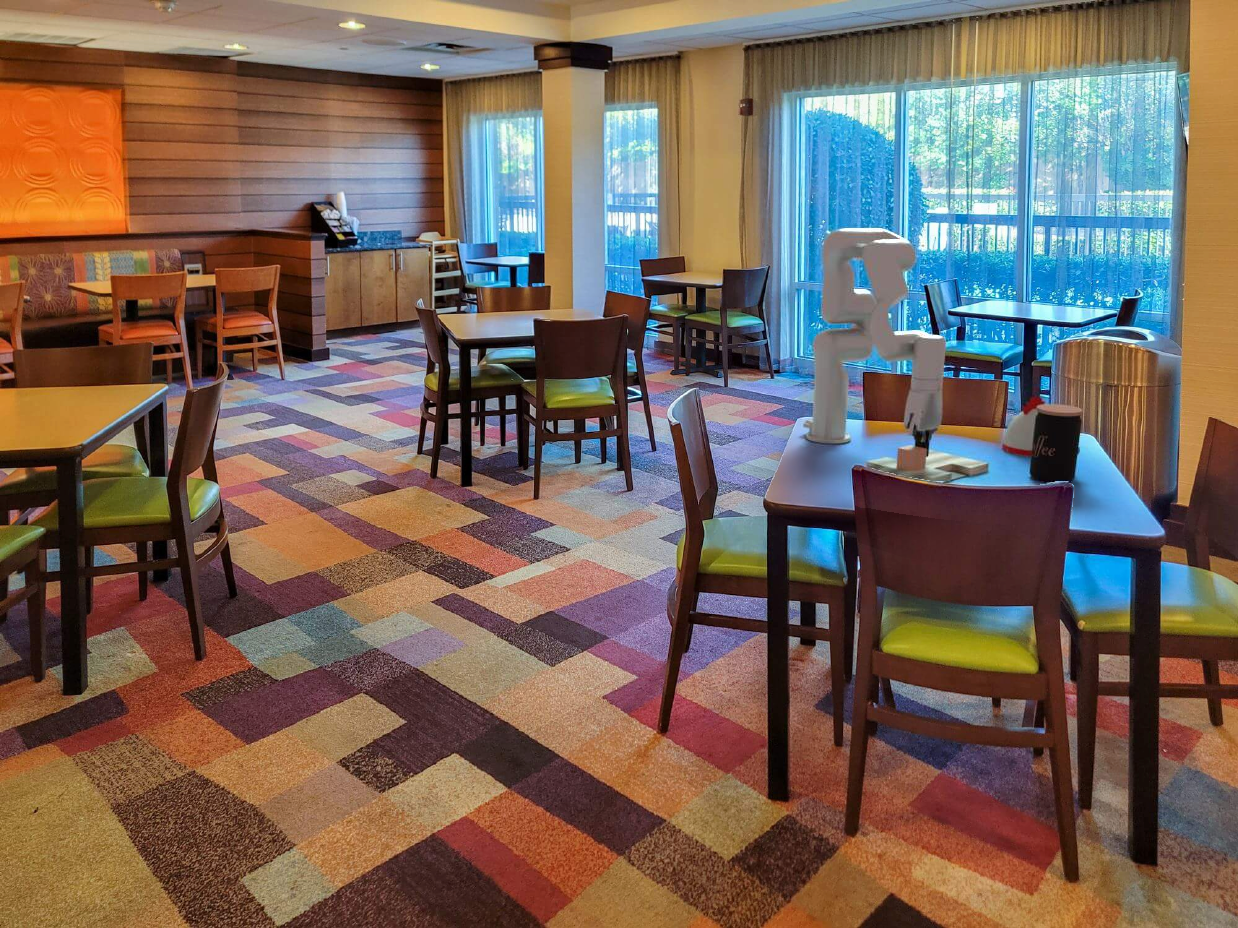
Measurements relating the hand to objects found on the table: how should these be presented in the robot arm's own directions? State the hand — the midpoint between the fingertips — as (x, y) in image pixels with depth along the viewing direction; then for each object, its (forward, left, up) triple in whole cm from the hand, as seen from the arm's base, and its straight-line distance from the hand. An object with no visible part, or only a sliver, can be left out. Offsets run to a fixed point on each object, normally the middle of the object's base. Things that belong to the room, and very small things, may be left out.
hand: (921, 455), depth 267 cm
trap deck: (0, +3, -4) cm, 5 cm away
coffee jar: (+24, +21, -5) cm, 32 cm away
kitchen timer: (+4, +44, -5) cm, 45 cm away
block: (0, -5, -2) cm, 5 cm away
